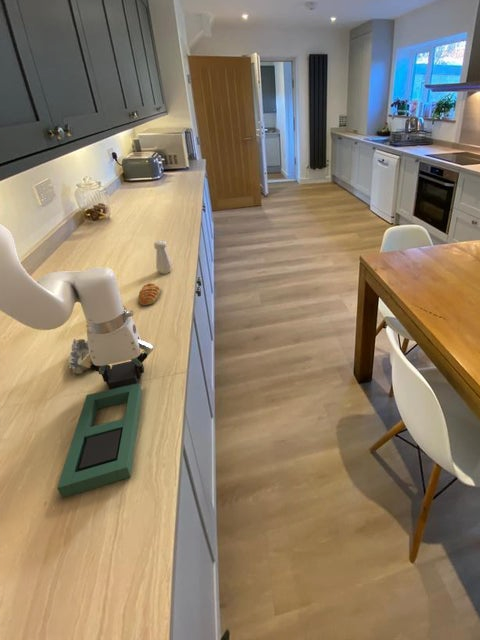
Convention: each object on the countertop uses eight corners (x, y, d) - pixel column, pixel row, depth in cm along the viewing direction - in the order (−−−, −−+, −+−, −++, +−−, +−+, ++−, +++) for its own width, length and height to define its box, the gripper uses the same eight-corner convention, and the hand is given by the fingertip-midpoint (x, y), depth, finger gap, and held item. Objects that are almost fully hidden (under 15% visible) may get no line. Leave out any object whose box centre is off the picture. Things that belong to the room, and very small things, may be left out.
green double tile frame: (62, 498, 57) (56, 488, 56) (90, 404, 74) (86, 394, 73) (130, 477, 60) (127, 467, 59) (142, 391, 77) (139, 382, 76)
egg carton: (77, 349, 90) (73, 337, 88) (107, 342, 93) (104, 330, 91) (68, 377, 81) (64, 365, 79) (102, 368, 84) (98, 356, 82)
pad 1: (83, 478, 60) (78, 468, 59) (91, 448, 65) (87, 438, 64) (119, 467, 62) (115, 458, 60) (124, 438, 67) (120, 429, 66)
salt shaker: (159, 276, 126) (153, 246, 121) (155, 270, 130) (149, 241, 125) (174, 272, 129) (169, 242, 124) (170, 266, 134) (165, 237, 128)
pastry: (158, 304, 109) (156, 295, 108) (136, 308, 108) (134, 298, 106) (161, 290, 118) (159, 281, 116) (141, 293, 116) (138, 283, 114)
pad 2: (110, 392, 77) (107, 383, 76) (114, 373, 82) (112, 364, 81) (137, 386, 79) (135, 377, 78) (140, 368, 84) (138, 359, 83)
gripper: (150, 303, 79) (163, 359, 86) (68, 317, 74) (90, 375, 81) (147, 322, 72) (161, 380, 79) (57, 339, 67) (81, 400, 75)
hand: (125, 377), depth 80 cm, fingers closed on pad 2, 6 cm apart
